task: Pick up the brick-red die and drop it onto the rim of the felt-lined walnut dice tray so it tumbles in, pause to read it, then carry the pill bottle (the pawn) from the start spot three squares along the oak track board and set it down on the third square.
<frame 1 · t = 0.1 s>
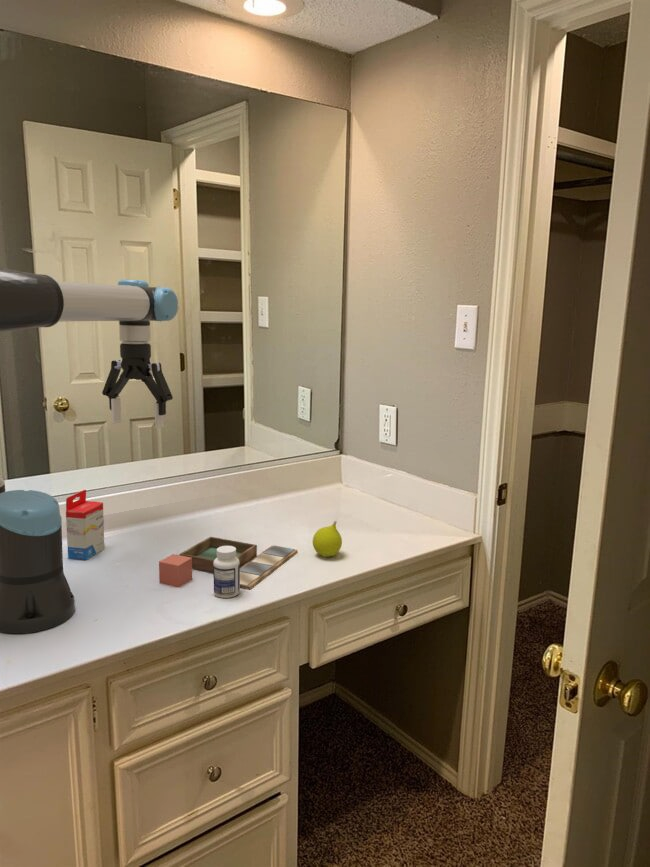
hand: (137, 425, 169), 28 cm above the worktop, fingers open, 13 cm apart
die: (176, 581, 142), on the worktop
dice tray: (219, 561, 153), on the worktop
pill bottle: (226, 594, 137), on the worktop
ink box: (86, 554, 156), on the worktop
ornament: (326, 556, 159), on the worktop
track board: (261, 567, 151), on the worktop
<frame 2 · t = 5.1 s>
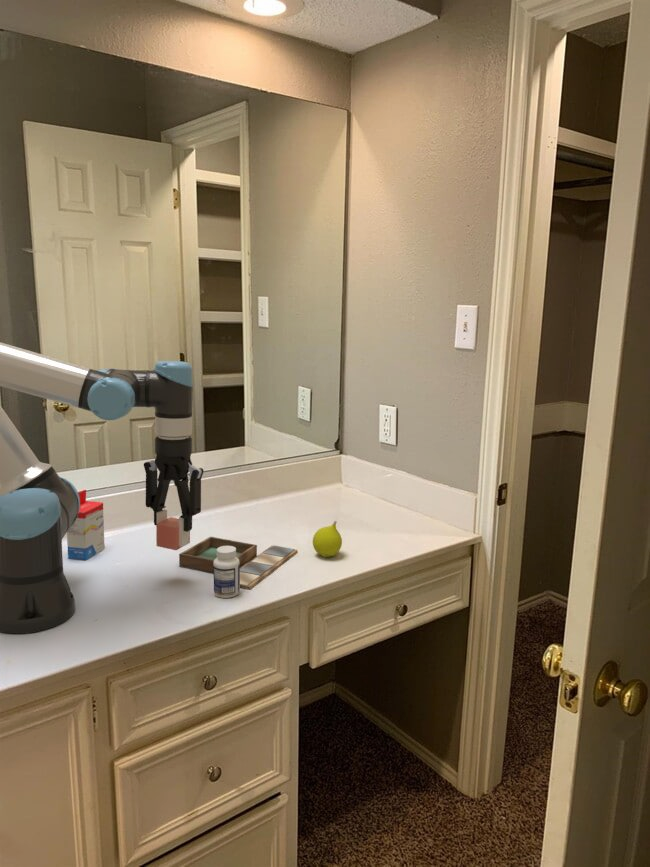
hand: (172, 542, 140), 9 cm above the worktop, fingers closed on die, 5 cm apart
die: (173, 544, 141), point 8 cm above the worktop, touching gripper
everything else where it was.
when the fingers open (9 cm above the worktop, at t = 6.0 s): die drops 5 cm and tips over, resting on dice tray.
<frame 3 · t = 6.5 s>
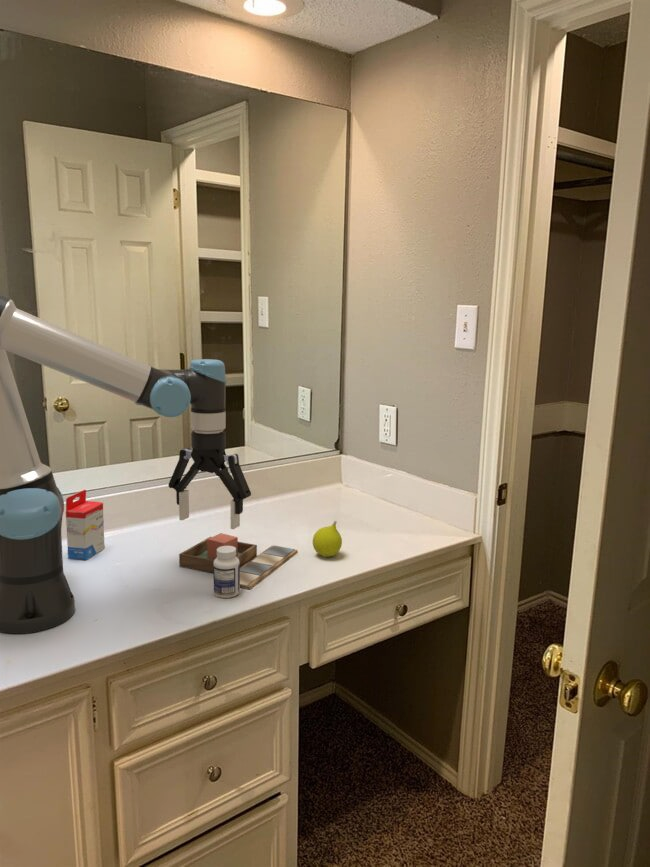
hand: (209, 523, 148), 11 cm above the worktop, fingers open, 13 cm apart
die: (215, 551, 152), point 3 cm above the worktop, tilted 90°, touching dice tray
everything else where it was.
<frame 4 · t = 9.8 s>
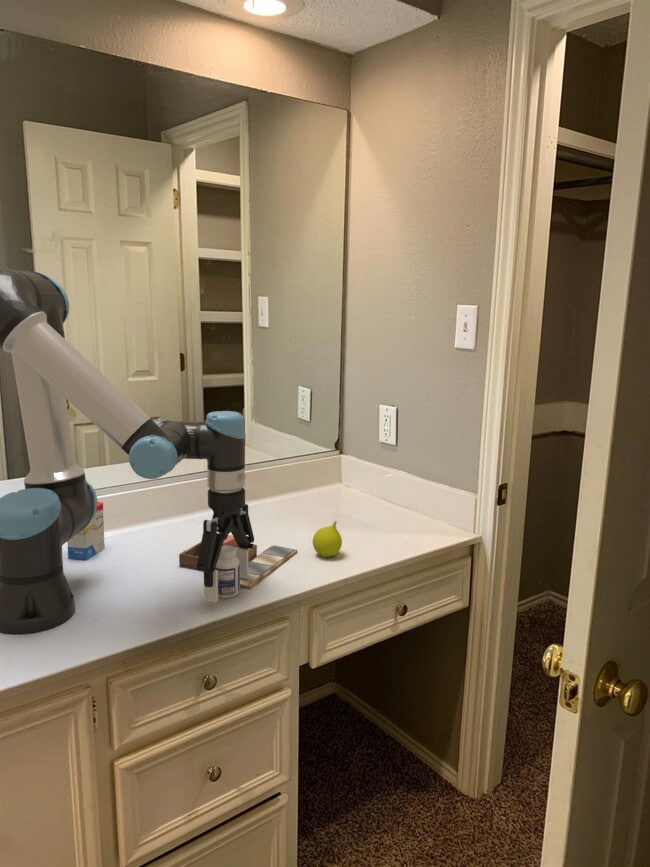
hand: (227, 588, 137), 1 cm above the worktop, fingers open, 12 cm apart
nothing on the worktop moved.
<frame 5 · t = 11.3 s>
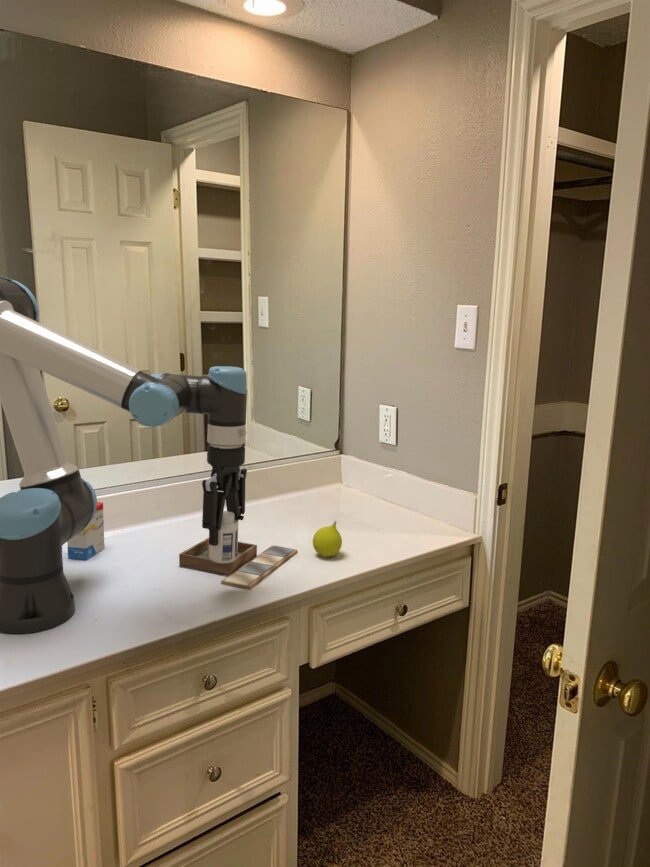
hand: (223, 554, 135), 9 cm above the worktop, fingers closed on pill bottle, 5 cm apart
pill bottle: (223, 560, 135), point 7 cm above the worktop, touching gripper
everything else where it was.
when the fingers open (2 cm above the worktop, at t = 15.2 s): pill bottle stays where it is, resting on track board.
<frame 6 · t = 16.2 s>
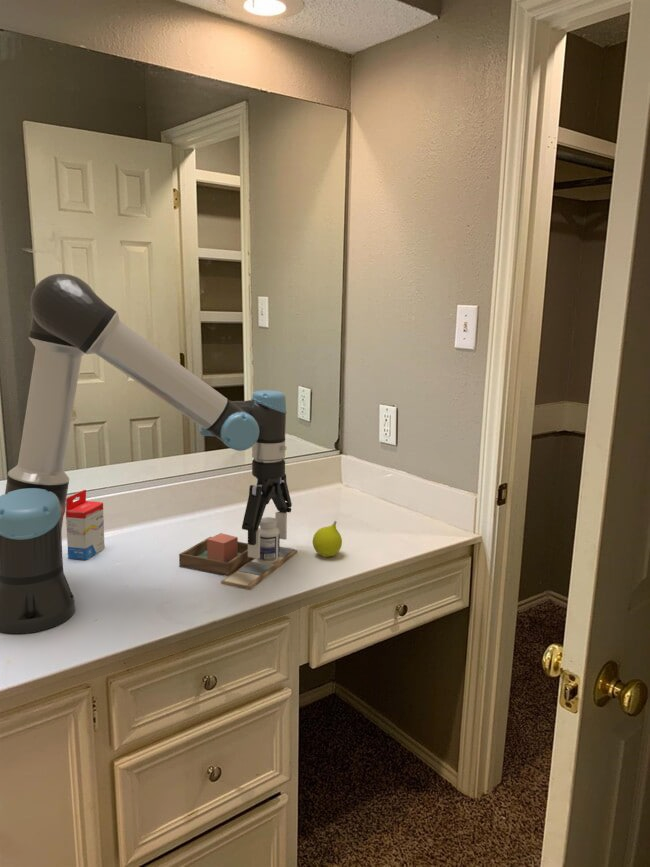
hand: (267, 547, 153), 4 cm above the worktop, fingers open, 13 cm apart
pill bottle: (267, 560, 153), point 1 cm above the worktop, touching track board
everything else where it was.
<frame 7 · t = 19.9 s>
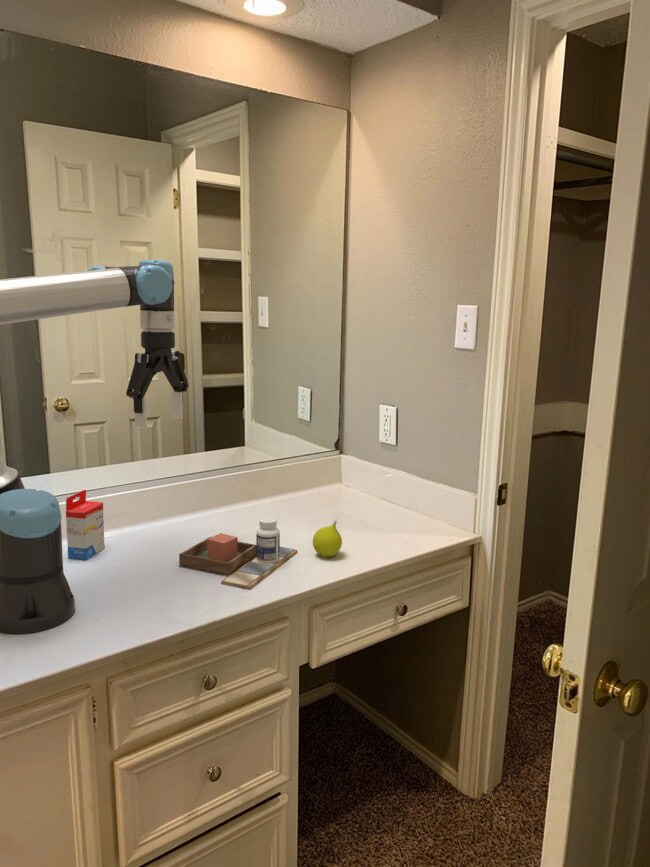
hand: (159, 422, 153), 32 cm above the worktop, fingers open, 13 cm apart
nothing on the worktop moved.
at the end: pill bottle 0.1 cm from the target spot, point 0.6 cm above the worktop; pill bottle tilted 0°; die inside the target area on the dice tray (1.4 cm from its centre), point 3.0 cm above the dice tray's base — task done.
